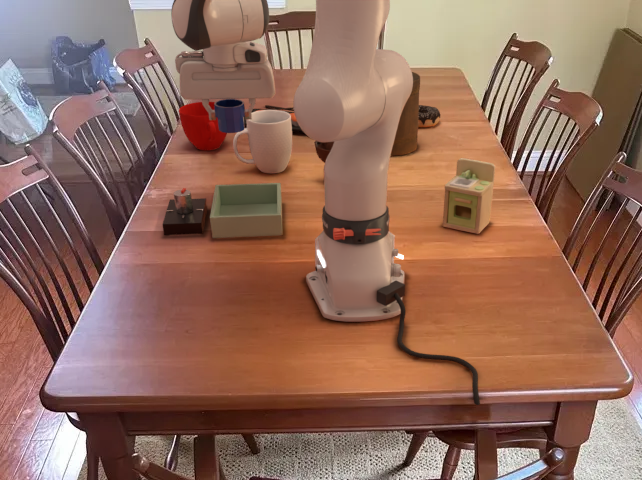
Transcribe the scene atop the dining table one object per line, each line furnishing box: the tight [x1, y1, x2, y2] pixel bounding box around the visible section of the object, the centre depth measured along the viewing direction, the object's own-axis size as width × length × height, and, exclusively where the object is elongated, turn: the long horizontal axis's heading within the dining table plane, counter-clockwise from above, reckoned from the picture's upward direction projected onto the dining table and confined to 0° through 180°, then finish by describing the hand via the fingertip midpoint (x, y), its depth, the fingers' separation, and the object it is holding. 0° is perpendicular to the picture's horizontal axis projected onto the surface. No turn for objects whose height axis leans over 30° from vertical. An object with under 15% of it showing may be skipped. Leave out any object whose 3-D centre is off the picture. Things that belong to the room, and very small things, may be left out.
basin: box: [209, 182, 283, 239], centre depth 153 cm, size 18×15×5 cm
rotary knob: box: [173, 187, 193, 214], centre depth 150 cm, size 4×4×4 cm
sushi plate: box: [244, 104, 305, 134], centre depth 211 cm, size 29×30×4 cm
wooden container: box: [390, 71, 421, 157], centre depth 185 cm, size 15×15×22 cm
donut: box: [418, 104, 441, 128], centre depth 207 cm, size 11×12×4 cm
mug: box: [232, 110, 293, 174], centre depth 175 cm, size 15×11×13 cm
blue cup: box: [214, 99, 246, 134], centre depth 154 cm, size 6×6×6 cm
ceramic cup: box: [178, 101, 228, 151], centre depth 188 cm, size 13×17×10 cm
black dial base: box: [162, 197, 208, 236], centre depth 152 cm, size 13×8×3 cm, turn 5°
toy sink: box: [442, 157, 496, 235], centre depth 149 cm, size 8×7×13 cm
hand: (231, 119), depth 154 cm, fingers closed on blue cup, 6 cm apart
